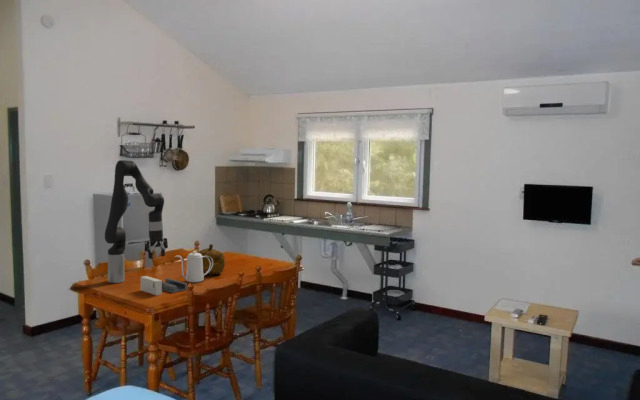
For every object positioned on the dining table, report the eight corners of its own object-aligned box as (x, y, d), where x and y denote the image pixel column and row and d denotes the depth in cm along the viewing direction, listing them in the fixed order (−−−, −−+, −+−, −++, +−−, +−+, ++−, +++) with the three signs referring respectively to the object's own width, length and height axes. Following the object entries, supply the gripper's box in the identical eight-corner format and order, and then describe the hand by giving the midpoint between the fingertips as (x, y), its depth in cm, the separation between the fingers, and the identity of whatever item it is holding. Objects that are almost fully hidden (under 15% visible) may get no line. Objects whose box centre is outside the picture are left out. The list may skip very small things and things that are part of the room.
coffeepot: (171, 281, 321) (171, 251, 319) (209, 276, 336) (209, 247, 334) (177, 285, 312) (177, 254, 311) (216, 280, 327) (216, 250, 325)
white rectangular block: (140, 290, 300) (140, 276, 299) (146, 289, 302) (146, 275, 302) (156, 295, 289) (156, 281, 289) (161, 294, 292) (161, 280, 291)
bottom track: (152, 286, 308) (152, 281, 307) (170, 283, 317) (170, 277, 316) (171, 293, 295) (171, 287, 294) (189, 289, 304) (189, 283, 303)
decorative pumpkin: (186, 273, 339) (188, 243, 339) (207, 270, 358) (209, 241, 357) (210, 278, 330) (213, 247, 329) (230, 275, 348) (233, 245, 348)
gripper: (161, 227, 304) (162, 255, 305) (140, 230, 293) (142, 258, 294) (170, 228, 300) (171, 256, 301) (149, 231, 288) (150, 260, 289)
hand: (156, 257), depth 297 cm, fingers open, 8 cm apart
